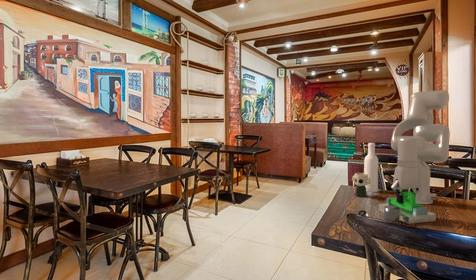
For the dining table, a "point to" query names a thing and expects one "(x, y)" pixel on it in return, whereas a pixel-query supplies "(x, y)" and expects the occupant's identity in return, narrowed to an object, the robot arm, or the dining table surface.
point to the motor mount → (405, 213)
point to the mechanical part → (407, 201)
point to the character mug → (361, 183)
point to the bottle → (371, 168)
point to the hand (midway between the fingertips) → (405, 202)
